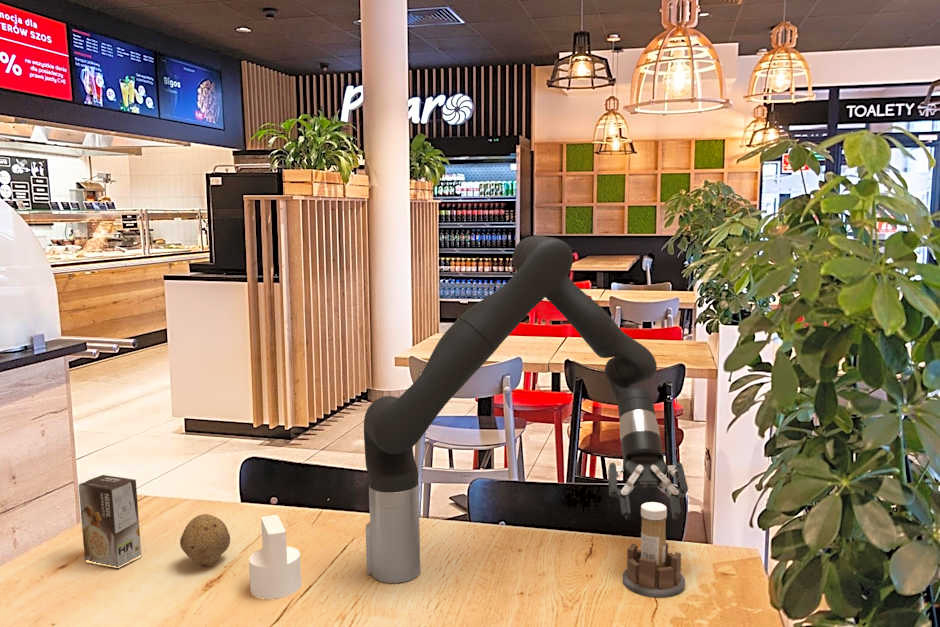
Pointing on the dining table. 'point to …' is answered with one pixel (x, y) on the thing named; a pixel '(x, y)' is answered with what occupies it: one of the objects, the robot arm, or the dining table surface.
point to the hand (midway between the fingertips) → (652, 517)
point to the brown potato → (205, 539)
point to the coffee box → (110, 520)
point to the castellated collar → (653, 574)
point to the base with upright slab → (274, 563)
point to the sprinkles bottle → (654, 533)
